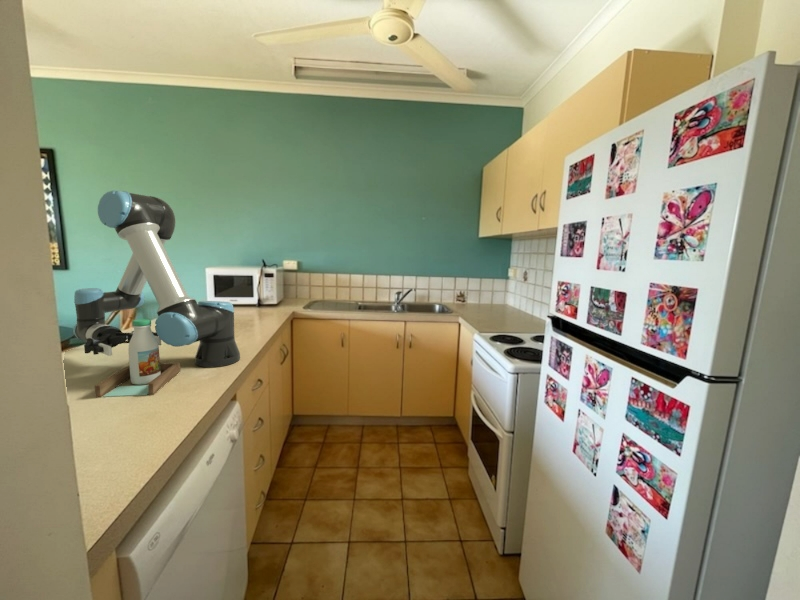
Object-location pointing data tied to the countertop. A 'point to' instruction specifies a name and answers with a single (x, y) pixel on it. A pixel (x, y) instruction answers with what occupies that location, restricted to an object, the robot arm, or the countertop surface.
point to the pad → (128, 391)
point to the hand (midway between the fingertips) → (136, 346)
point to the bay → (113, 381)
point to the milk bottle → (143, 353)
